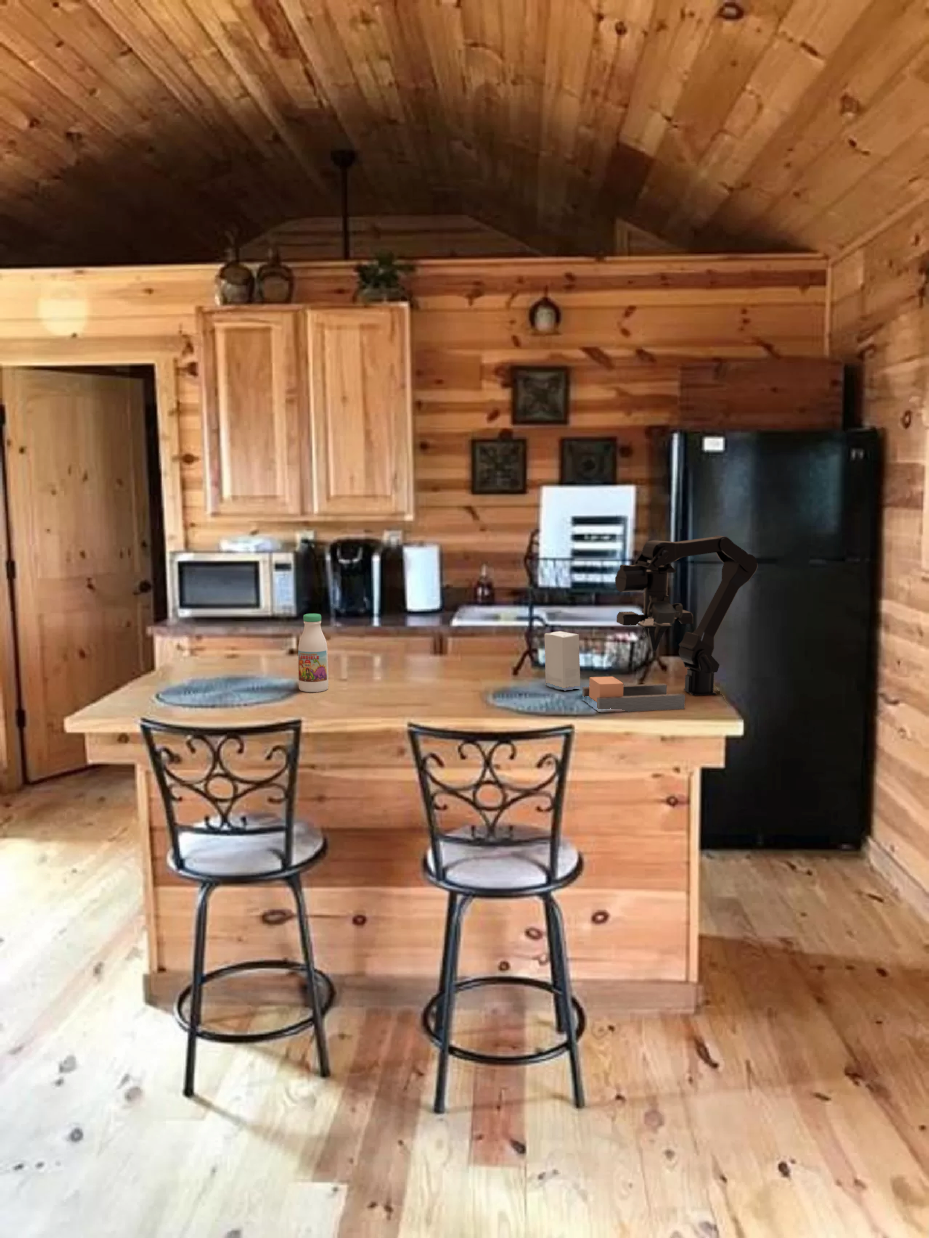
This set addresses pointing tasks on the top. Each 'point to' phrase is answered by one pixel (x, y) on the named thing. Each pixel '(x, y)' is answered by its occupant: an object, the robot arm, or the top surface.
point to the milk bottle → (313, 656)
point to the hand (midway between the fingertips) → (653, 651)
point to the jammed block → (605, 687)
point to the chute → (641, 698)
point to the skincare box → (562, 659)
